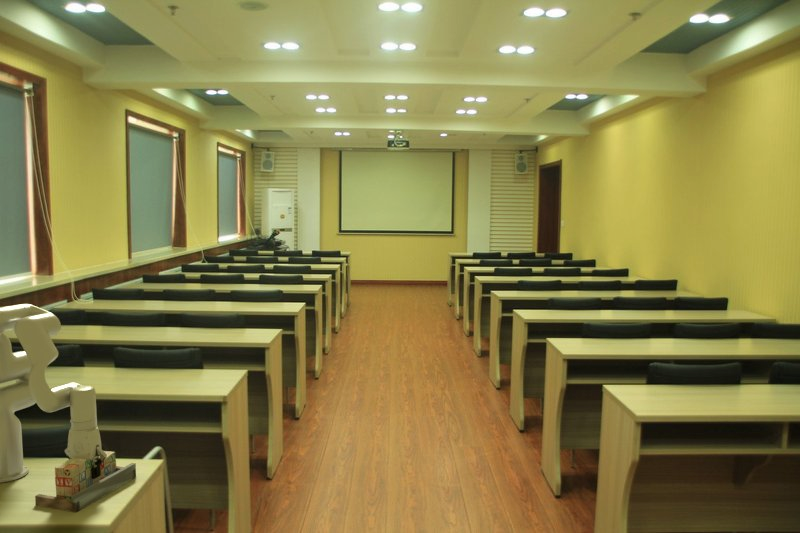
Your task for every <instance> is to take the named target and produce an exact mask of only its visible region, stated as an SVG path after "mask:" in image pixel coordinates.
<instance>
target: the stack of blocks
mask: <svg viewBox="0 0 800 533" xmlns="http://www.w3.org/2000/svg"><path fill="white" fill-rule="evenodd" d="M103 451H104V452H105V453H106V454H107V457H106V458H105V459H104V461H103V462H102V464H101V465H100V469H101V475H100V476H99V477H97V478H95V479H92V470H91V468H92V467H93V465H92V463H91V461H88V460H85V459H79V458H71V459H68V460H66V461H63V462H62V463H60V464H58V465H57V466H54V475H55V477H54V482H55V493H56V496H55V497H60V498H65V499H71V500H72V496H73V495H74V494H76V493H78V492H80V491H82V490H84V489H85V488H87V487H89V486H91V485H93V484H94V483H96V482H98V481H100V480H102V479H104V478H105V477H107V476H109V475H111V474H113V473H115V472H116V466H117V460H116V451H107V450H103ZM99 457H100V456H99ZM94 460H95V462H97V460H96V458H95V459H94Z"/></svg>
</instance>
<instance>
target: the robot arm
mask: <svg viewBox="0 0 800 533" xmlns="http://www.w3.org/2000/svg"><path fill="white" fill-rule="evenodd" d="M61 328H62V325H61V321H60V318H59V317H57V316H56V314H54V313H52V312H50V311H49V310H46V309H44V308H40V307H38V306H35V305H33V304H30V303H21V304H13V305H7V306H0V384H5V383H8V382H12V381H15V382H14V383H12V384H7V385H4V386H0V483H7V482H12V481H15V480H17V479H21V478H23V477H24V476H26V475H28V473H29V471H30V468H29V466H27V465H24V452H23V450H24V449H23V434H22V433H23V432H22V423H21V421H20V419H19V417H17V416H16V415H15V412H17V411H20V410H23V409H26V408H29V407H31V406H34V405H35V404H36V405H37V406H38V407H39V409H40V410H42V411H43V412H45V413H53V412H57V411H59V410H63V409H65V408H68V407H70V421H69V423H70V426H71V427H70V428H69V431H68V438H67V447H66V448H65V449H64V453H65V455H66V457H67V459H68V460H69V459H71V458H79V459H85V460H88V461H91V463H92V465H93V467H92V468H91V470H92V479H95V478H97V477H99V476H100V475H101V469H100V465H101V464H102V462H103V461H104V459H105V458H106V457H107V454H106V453H105V452H104V451H105V450H103V449H102V440H101V439H102V438H101V434H100V430H99V427H98V418H97V396H96V393H97V392H96V389H95V387H94V386H92V385H83V384H80V383H78V382H67V383H64V384H60V385H57V386H53V387H51V388H50V386H49V385H48V383H47V380H46V377H45V376H46V375H45V374H46V371H47V370H46V369H47V367H48V366H49V365H50V364H52V363H53V362H54V361H56V359H57V358H58V357H59V350H58V349H57V347H56V346H55V344H54V341H53V339H52V338H51V337H54V336H57V335H58V334H59V333H60V332H61V330H62V329H61ZM9 331H14V334H15V336H16V338H17V339H18V341H19V343H20V345H21V347H22V348H23V350H20V351H15V352H13V349H12V343H11V340H10V338H9V337H8V336H7V335H6V334H5V332H9ZM99 456H100V457H99ZM95 458H96V460H97V462H95V460H94V459H95Z"/></svg>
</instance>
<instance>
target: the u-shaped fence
mask: <svg viewBox="0 0 800 533" xmlns="http://www.w3.org/2000/svg"><path fill="white" fill-rule="evenodd" d="M135 477H136V478H137V467H136V463H135V462H130V463H129V464H127V465H126V466H118V465H116V472H115V473H113V474H111V475H109V476H107V477H105V478H104V479H102V480H100V481H98V482H96V483H94V484H93V485H91V486H89V487H87V488H85V489H84V490H82V491H80V492H78V493H76V494H74V495H73V496H72V500H71V499H65V498H60V497H56V496H53V495H47V494H42V493H38V494H35V496H34V498H35V499H34V500H35V506H38V507H45V508H50V509H56V510H61V511H67V512H73V513H78V512H79V511H81V510H83V509H84V508H86V507H88V506H90V505H92V504H93V503H95V502H96V501H98V500H100V499H101V498H103V497H104V496H107V495H109V494H110V493H111V492H113V491H115V490H117V489H118V488H120V487H122V486H124V485H125V484H127V483H129V482H131V481H133V480H134V479H136V478H135ZM130 480H131V481H130ZM123 484H124V485H123Z"/></svg>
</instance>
